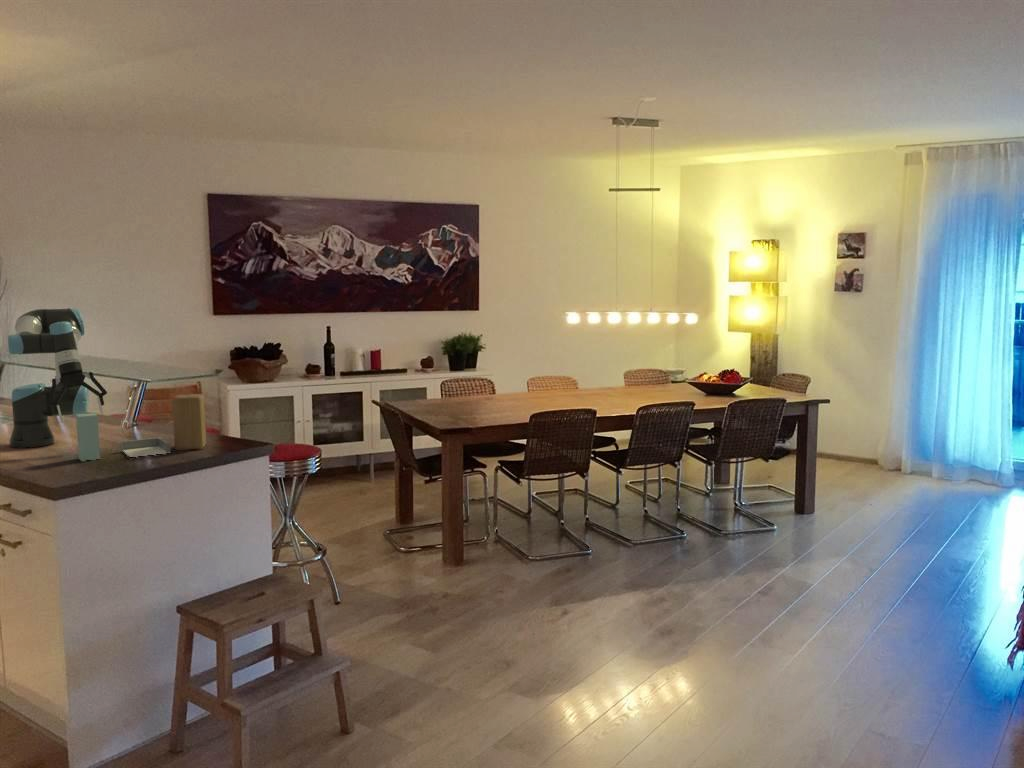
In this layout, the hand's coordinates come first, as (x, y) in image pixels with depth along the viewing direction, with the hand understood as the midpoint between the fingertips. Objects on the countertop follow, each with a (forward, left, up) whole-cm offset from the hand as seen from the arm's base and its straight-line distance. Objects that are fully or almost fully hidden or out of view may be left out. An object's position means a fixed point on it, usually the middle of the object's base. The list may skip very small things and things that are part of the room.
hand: (82, 418), depth 317 cm
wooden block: (+16, +34, -13) cm, 40 cm away
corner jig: (+16, +18, -12) cm, 27 cm away
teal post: (+16, -1, -12) cm, 20 cm away
